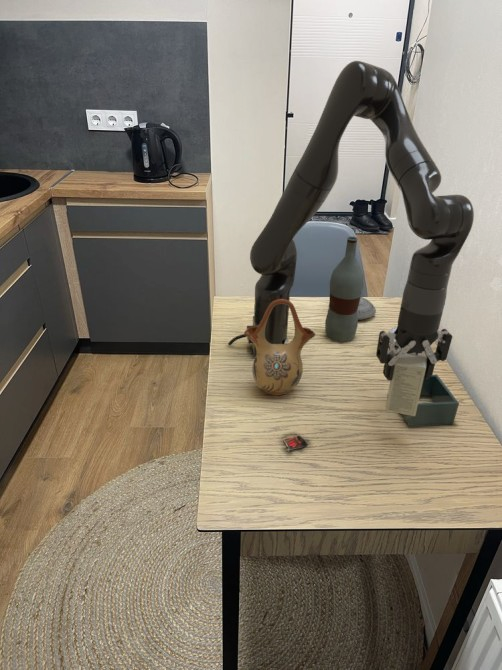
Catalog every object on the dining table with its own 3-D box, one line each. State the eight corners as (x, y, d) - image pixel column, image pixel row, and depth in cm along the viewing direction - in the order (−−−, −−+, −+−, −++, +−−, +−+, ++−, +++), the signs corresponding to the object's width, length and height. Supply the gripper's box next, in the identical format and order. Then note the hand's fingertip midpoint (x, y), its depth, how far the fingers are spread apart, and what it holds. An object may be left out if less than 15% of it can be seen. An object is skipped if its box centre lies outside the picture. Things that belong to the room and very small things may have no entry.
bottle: (360, 334, 148) (375, 237, 133) (348, 347, 141) (362, 246, 126) (331, 325, 152) (342, 230, 138) (318, 337, 145) (329, 239, 131)
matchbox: (309, 444, 105) (310, 443, 105) (291, 454, 102) (291, 452, 102) (295, 432, 108) (295, 431, 108) (277, 441, 106) (277, 439, 105)
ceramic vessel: (307, 380, 126) (316, 290, 114) (311, 402, 118) (321, 308, 106) (243, 379, 126) (244, 289, 113) (242, 401, 118) (244, 306, 106)
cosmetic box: (416, 405, 105) (428, 356, 99) (415, 417, 101) (427, 368, 95) (386, 398, 107) (395, 350, 101) (383, 410, 103) (394, 361, 97)
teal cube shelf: (409, 426, 111) (414, 405, 108) (391, 396, 121) (395, 376, 118) (453, 424, 112) (459, 403, 109) (431, 394, 122) (437, 374, 119)
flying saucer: (365, 327, 152) (367, 311, 149) (320, 315, 158) (322, 299, 156) (381, 309, 163) (384, 294, 160) (339, 298, 170) (341, 283, 167)
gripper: (449, 295, 96) (432, 366, 104) (378, 296, 95) (366, 368, 103) (468, 312, 90) (448, 387, 98) (392, 314, 88) (378, 390, 96)
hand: (406, 377), depth 100 cm, fingers closed on cosmetic box, 7 cm apart
